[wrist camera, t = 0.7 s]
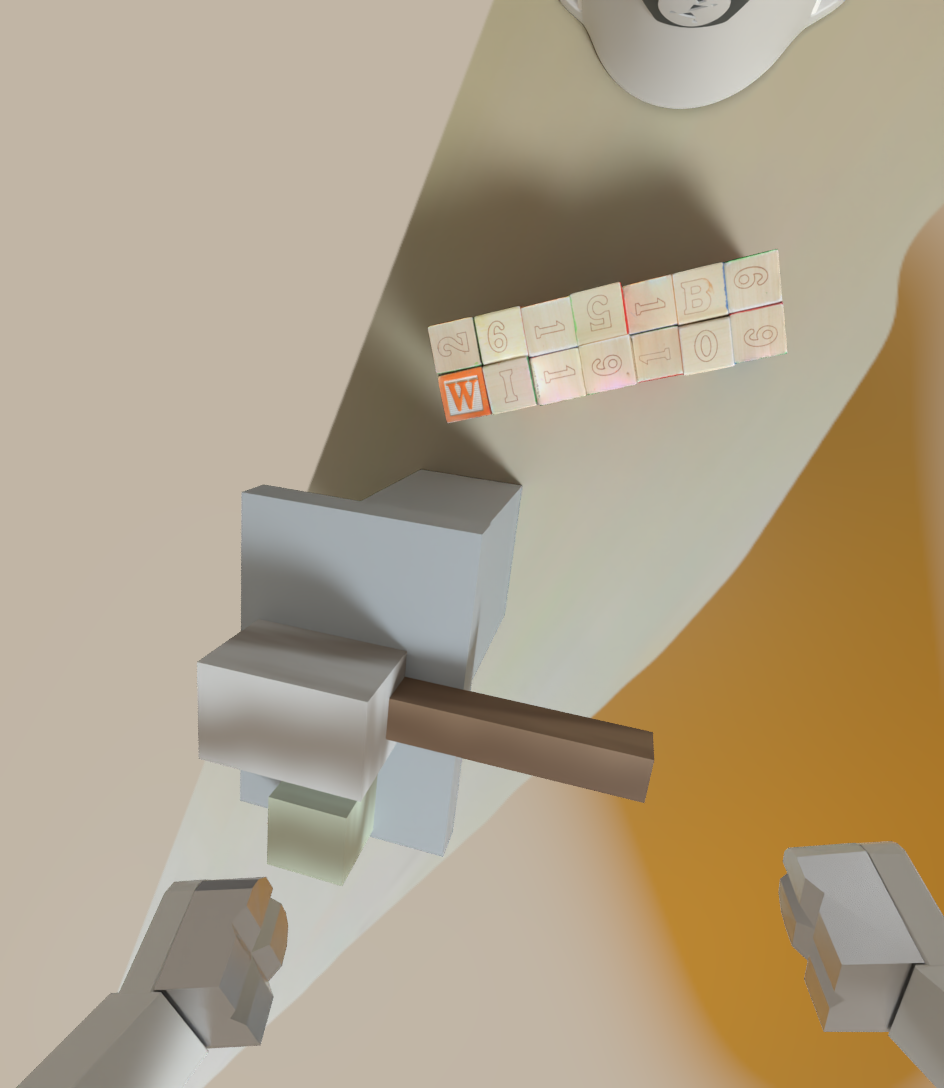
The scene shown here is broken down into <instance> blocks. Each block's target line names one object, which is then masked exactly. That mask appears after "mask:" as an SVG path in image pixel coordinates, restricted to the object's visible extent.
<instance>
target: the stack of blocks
mask: <svg viewBox="0 0 944 1088" xmlns="http://www.w3.org/2000/svg"><path fill="white" fill-rule="evenodd" d="M428 333H429V338H430V343H431V348H432V353H433V359H434V364H435V370H436V373H437V374H439V376H438V383H439V388H440V393H441V398H442V403H443V407H444V412H445V417H446V420H447V423H452V422H457V421H462V420H467V419H471V418H477V417H482V416H487V415H490V414H493V415H494V414H499V413H504V412H508V411H513V410H517V409H522V408H526V407H531V406H535V405H540V406H542V405H547V404H552V403H556V402H561V401H566V400H570V399H575V398H579V397H583V396H586V395H590V394H595V393H600V392H605V391H609V390H614V389H618V388H623V387H627V386H632V385H636V384H637V383H640V382H645V381H650V380H655V379H661V378H666V377H671V376H676V375H682V374H683V375H685V376H686V375H691V374H697V373H702V372H707V371H712V370H717V369H722V368H727V367H732V366H734V365H735V364H736V363H741V362H746V361H751V360H757V359H762V358H767V357H773V356H777V355H783V354H786V353H787V342H786V330H785V317H784V305H783V303H782V291H781V278H780V266H779V255H778V250H777V249H775V250H770V251H766V252H762V253H758V254H754V255H750V256H746V257H742V258H738V259H734V260H731V261H727V262H719V263H714V264H710V265H706V266H702V267H698V268H694V269H690V270H686V271H682V272H678V273H674V274H670V275H664V276H661V277H656V278H652V279H648V280H645V281H641V282H637V283H633V284H629V285H626V286H623V287H622V285H621V282H615V283H611V284H607V285H603V286H599V287H595V288H592V289H588V290H584V291H580V292H576V293H572V294H570V295H569V296H566V297H562V298H557V299H553V300H549V301H545V302H541V303H537V304H533V305H529V306H525V307H521V306H516V307H511V308H507V309H503V310H499V311H495V312H491V313H486V314H482V315H478V316H475V317H467V318H462V319H458V320H453V321H449V322H444V323H440V324H436V325H432V326H429V327H428Z"/></svg>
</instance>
